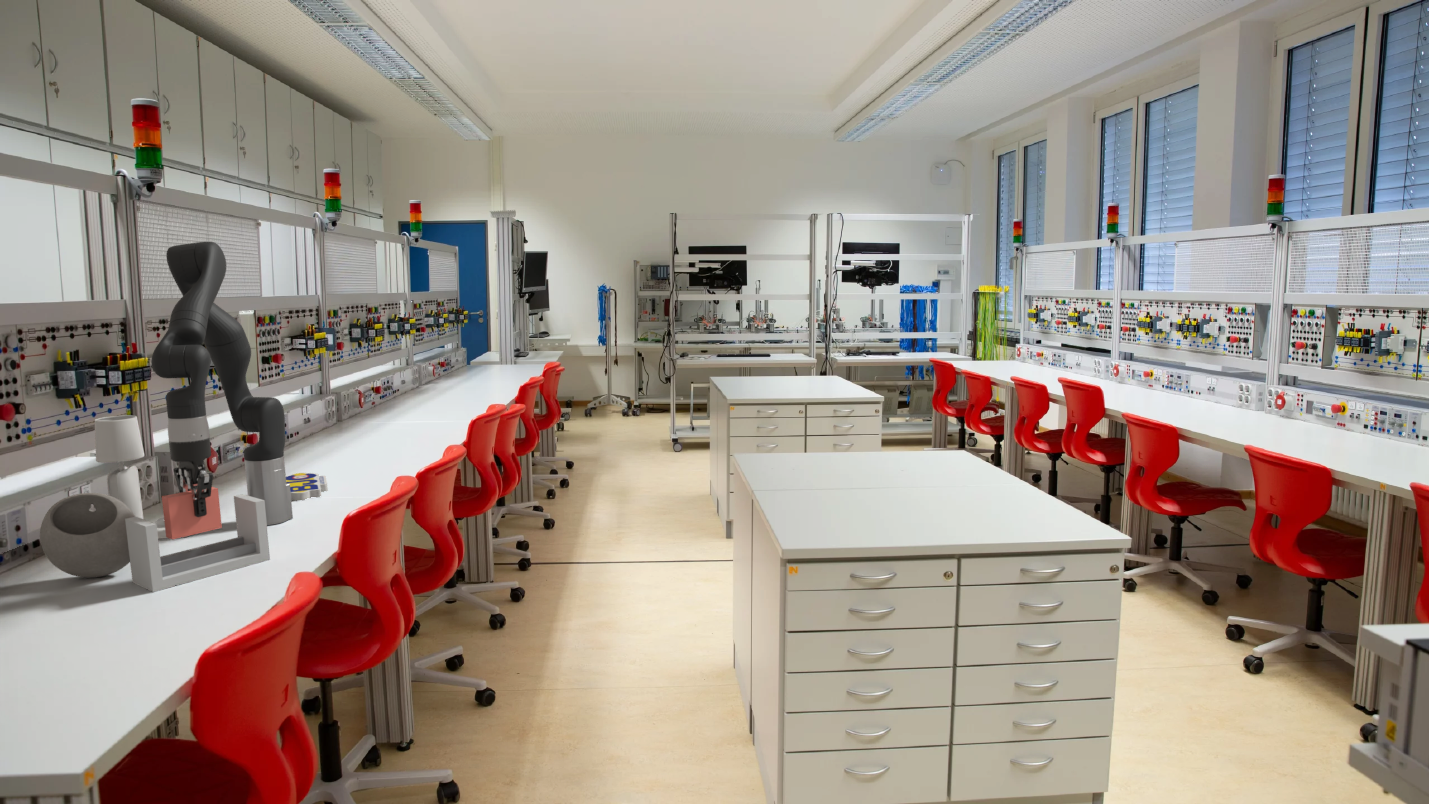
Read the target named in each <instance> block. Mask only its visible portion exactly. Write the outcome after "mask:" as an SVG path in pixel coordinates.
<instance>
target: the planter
mask: <svg viewBox="0 0 1429 804" xmlns="http://www.w3.org/2000/svg"><path fill="white" fill-rule="evenodd" d="M92 505H93V508H94V509H95V510H92ZM131 517H136V516H135V515H134V513H133V512H132V511H131V509H130V508H129V507H128V506H127V505H125V504H124V503H123V502H122V501H120V500H118V499H116V498H114V497H112V496H109V495H108V494H105V493H101V492H83V493H75V494H72V495H69V496H66V497H63V498H62V499H60V500H58V501H57V502H55V503H54V504H53V505H52V506H51V507H50V508H49V509H48V510H47V512H46V514H45V516H44V517H43V520H42V522H41V524H40V529H39V541H40V545H41V548H42V550H43V553H44V555H45V556H46V558H47V559H48V560H49V562H50V563H51V564H52V565H53V566H54V567H55V568H57V569H59V570H60V571H61V572H63V573H66V574H68V575H70V576H75V577H79V578H87V579H88V578H91V579H92V578H101V577H106V576H109V575H112V574H114V573H116V572H119V571H120V570H122V569H123V568H125V567H126V566H128V564H129V563H130V556H129V548H128V539H127V531H126V523H125V519H127V518H131Z"/></svg>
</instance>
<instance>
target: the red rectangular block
mask: <svg viewBox="0 0 1429 804" xmlns="http://www.w3.org/2000/svg"><path fill="white" fill-rule="evenodd" d="M196 492H197V490H196ZM219 495H220V494H219V488H217V487H214V486H212V489H211V496H210V497H207V498H206V499H205V500H206V510H207V514H206V515H205V516H201V517H196V516H195V514H194V504H193V501H194V500H193V497H192V491H186V492H181V493H180V492H177V493H171V494H167V495H161V503H162V513H163V518H164V522H165V531H166V537H167V539H171V540H176V539H180V538H181V537H182V538H186V537H185V536H188V537H189V536H192V535H197V534H201V533H205V532H210V531H214V530H218V529H222V528H223V527H222V526H223V525H222V516H221V515H222V514H221V507H220V506H221V505H220V496H219Z"/></svg>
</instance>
